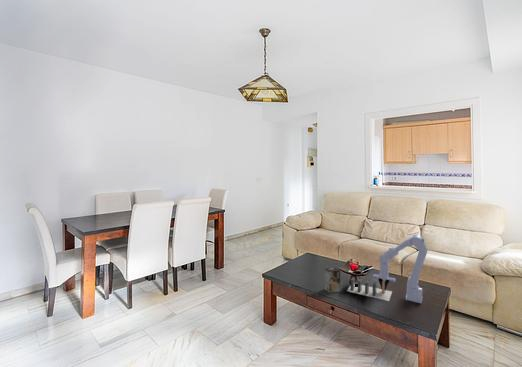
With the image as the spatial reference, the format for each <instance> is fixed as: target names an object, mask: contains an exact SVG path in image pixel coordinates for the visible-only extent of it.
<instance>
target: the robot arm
mask: <svg viewBox="0 0 522 367" xmlns="http://www.w3.org/2000/svg"><path fill="white" fill-rule="evenodd" d="M407 247H414V248H416V249H417V251H418V253H417V255H416V259H415V263H414V265H413V268H412V270H411V273H410V274H409V275H408V278H407V282H406V294H405V301H410V302H414V303H418V304H422V302H423V300H424V299H423V298H424V297H423V288H422V287H420V286H419V280H420V279H419V277H420V275H421V273H422V272H421V271H422V268H423V266H424V263H425V259H426V257H427V253H428V247H427V244H426V242H425V239H424V238H423V236H422V235H420V234H418V233H416V234H413V235H412V236H410V237H408V238H406V239H405V240H403V242H401V243H400V244H398V245H397V246H395V247H389V248H388V250H386V251H384V252H383V253H382V254H380V256H379V274H372V279H378V283H379V285H380V289H382V282H383V280H385V290H387V287H388V285H389V283H390V282H393V283H396V280H397V279H396V278H395V277H392V276H391V277H390V276H389V274H390V273H389V270H390V267H389V260H390V261H391V260H393V259H394V258H395V257H396V256H398V255H399V252H400V251H402V250H404V249H405V248H407Z"/></svg>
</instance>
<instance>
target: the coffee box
mask: <svg viewBox="0 0 522 367" xmlns="http://www.w3.org/2000/svg"><path fill="white" fill-rule="evenodd" d="M324 289H325V291H326V292H328V293H329V294H330V293H338V292H341V270H340V269H338V268H337V267H335V266H334V267H330V268H329V267H328V268H324Z"/></svg>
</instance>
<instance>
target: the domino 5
mask: <svg viewBox="0 0 522 367" xmlns="http://www.w3.org/2000/svg"><path fill="white" fill-rule="evenodd" d="M386 290H387V289H386ZM386 290H385V280H383V282H382V293H383V294H385V291H386Z"/></svg>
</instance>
